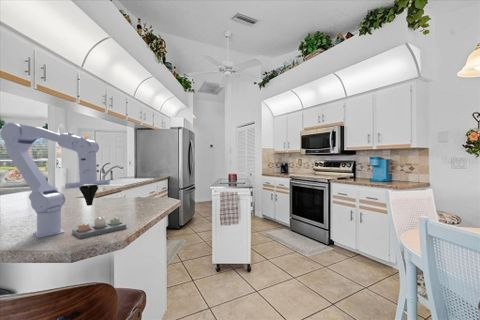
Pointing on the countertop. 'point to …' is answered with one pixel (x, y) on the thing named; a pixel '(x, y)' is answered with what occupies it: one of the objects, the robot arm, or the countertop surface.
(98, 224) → the cream button
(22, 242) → the countertop surface
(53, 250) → the countertop surface
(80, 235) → the button board
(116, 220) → the sage button
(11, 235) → the countertop surface
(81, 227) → the terracotta button
